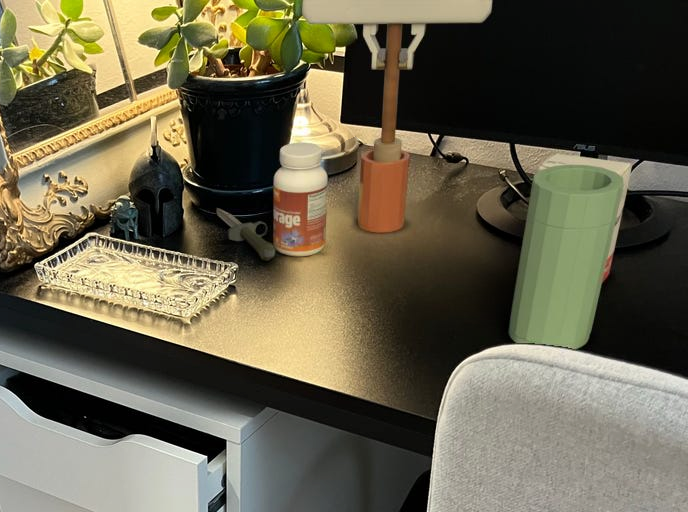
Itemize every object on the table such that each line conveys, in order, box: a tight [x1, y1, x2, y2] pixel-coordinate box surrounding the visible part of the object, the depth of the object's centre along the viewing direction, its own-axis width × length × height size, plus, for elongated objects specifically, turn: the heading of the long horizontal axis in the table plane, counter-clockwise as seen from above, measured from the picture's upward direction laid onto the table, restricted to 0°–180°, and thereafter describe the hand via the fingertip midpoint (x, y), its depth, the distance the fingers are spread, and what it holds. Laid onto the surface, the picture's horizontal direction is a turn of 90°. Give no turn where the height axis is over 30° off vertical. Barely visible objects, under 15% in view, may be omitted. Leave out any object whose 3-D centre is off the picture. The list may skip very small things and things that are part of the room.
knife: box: [216, 207, 277, 262], centre depth 123 cm, size 19×2×5 cm
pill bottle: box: [273, 141, 329, 257], centre depth 116 cm, size 6×6×11 cm
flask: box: [508, 164, 624, 350], centre depth 96 cm, size 8×8×15 cm
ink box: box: [536, 153, 633, 284], centre depth 107 cm, size 9×5×12 cm, turn 56°
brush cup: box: [357, 148, 411, 234], centre depth 121 cm, size 6×6×8 cm
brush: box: [373, 24, 403, 162], centre depth 115 cm, size 3×3×21 cm
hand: (392, 68), depth 112 cm, fingers closed on brush
